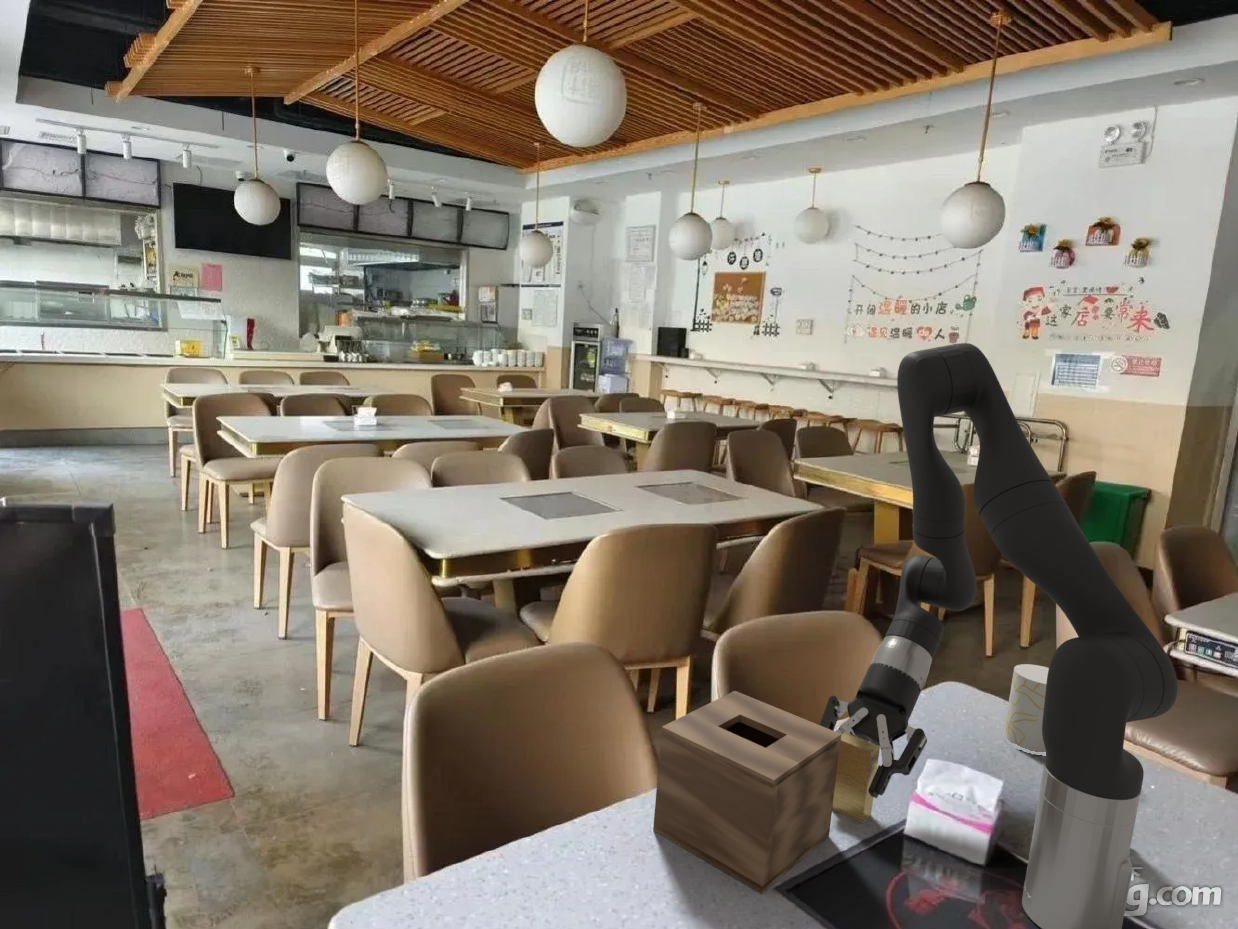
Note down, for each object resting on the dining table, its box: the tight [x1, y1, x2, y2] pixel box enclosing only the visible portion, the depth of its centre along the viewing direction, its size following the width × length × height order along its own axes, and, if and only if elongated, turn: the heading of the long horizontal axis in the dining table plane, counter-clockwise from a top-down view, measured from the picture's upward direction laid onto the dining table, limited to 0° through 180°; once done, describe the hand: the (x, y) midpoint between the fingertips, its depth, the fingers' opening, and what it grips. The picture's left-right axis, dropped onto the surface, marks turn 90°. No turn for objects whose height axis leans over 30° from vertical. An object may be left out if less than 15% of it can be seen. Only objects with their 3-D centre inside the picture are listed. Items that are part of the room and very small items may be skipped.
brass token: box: [832, 732, 881, 824], centre depth 109 cm, size 3×5×10 cm, turn 48°
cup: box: [1003, 663, 1049, 752], centre depth 132 cm, size 8×8×12 cm
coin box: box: [652, 690, 841, 895], centre depth 102 cm, size 16×16×14 cm
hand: (847, 783), depth 108 cm, fingers open, 6 cm apart
